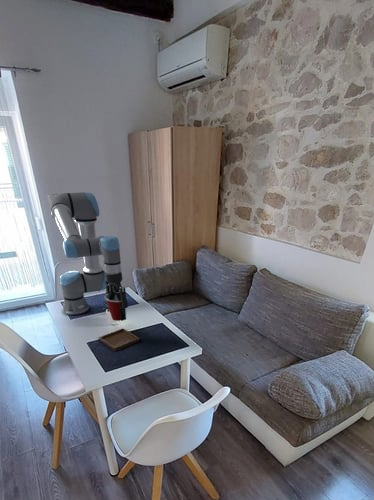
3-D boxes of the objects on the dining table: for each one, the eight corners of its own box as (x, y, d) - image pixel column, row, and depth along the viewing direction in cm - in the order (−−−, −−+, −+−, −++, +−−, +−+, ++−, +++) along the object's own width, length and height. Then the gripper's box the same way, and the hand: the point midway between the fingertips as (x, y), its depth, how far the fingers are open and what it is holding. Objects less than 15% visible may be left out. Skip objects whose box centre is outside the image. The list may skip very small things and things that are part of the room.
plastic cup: (124, 324, 152) (122, 301, 145) (104, 322, 154) (100, 299, 147) (132, 315, 161) (130, 292, 154) (112, 313, 163) (109, 291, 156)
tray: (99, 340, 164) (98, 337, 163) (123, 330, 173) (123, 328, 172) (115, 351, 155) (114, 348, 154) (139, 341, 164) (139, 338, 163)
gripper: (133, 276, 140) (137, 321, 153) (108, 265, 153) (113, 308, 165) (119, 279, 136) (124, 326, 148) (94, 268, 148) (101, 312, 161)
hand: (118, 317), depth 157 cm, fingers closed on plastic cup, 8 cm apart
